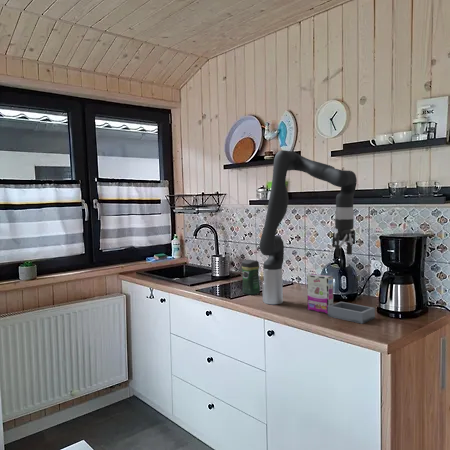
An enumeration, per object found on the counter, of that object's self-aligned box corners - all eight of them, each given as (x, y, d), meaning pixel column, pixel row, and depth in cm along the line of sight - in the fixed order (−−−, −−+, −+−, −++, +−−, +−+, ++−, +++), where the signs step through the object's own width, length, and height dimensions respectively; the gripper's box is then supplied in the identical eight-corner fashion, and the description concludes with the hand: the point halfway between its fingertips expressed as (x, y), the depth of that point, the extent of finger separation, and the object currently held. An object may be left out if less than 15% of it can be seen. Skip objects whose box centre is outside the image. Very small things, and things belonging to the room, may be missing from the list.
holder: (327, 316, 182) (327, 306, 182) (340, 311, 189) (340, 301, 189) (362, 323, 170) (362, 313, 170) (374, 318, 177) (374, 307, 177)
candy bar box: (334, 311, 189) (333, 276, 188) (328, 314, 185) (327, 277, 184) (313, 307, 197) (312, 273, 195) (307, 309, 193) (306, 274, 192)
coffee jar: (262, 293, 228) (261, 259, 226) (251, 296, 223) (250, 261, 222) (250, 290, 235) (249, 258, 234) (239, 293, 230) (239, 259, 229)
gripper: (345, 216, 184) (344, 252, 186) (327, 218, 174) (326, 256, 176) (361, 217, 179) (360, 254, 180) (343, 219, 169) (342, 258, 170)
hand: (343, 255), depth 178 cm, fingers open, 8 cm apart
